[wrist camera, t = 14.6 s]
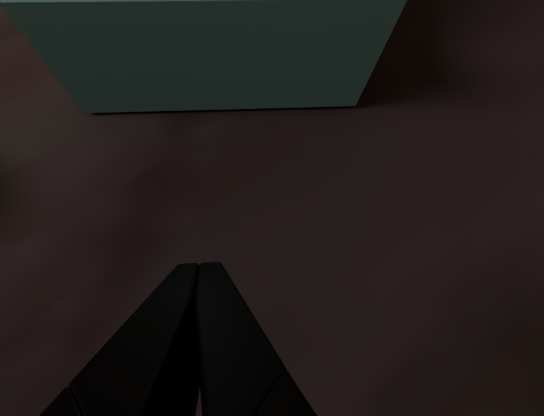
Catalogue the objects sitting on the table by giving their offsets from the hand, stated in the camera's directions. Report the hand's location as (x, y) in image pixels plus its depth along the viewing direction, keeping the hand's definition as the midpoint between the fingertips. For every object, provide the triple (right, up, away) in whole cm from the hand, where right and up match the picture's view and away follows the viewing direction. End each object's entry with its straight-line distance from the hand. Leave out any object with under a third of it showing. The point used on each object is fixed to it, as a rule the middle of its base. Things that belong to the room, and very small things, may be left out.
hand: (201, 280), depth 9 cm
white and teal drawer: (-2, +13, +16) cm, 21 cm away
